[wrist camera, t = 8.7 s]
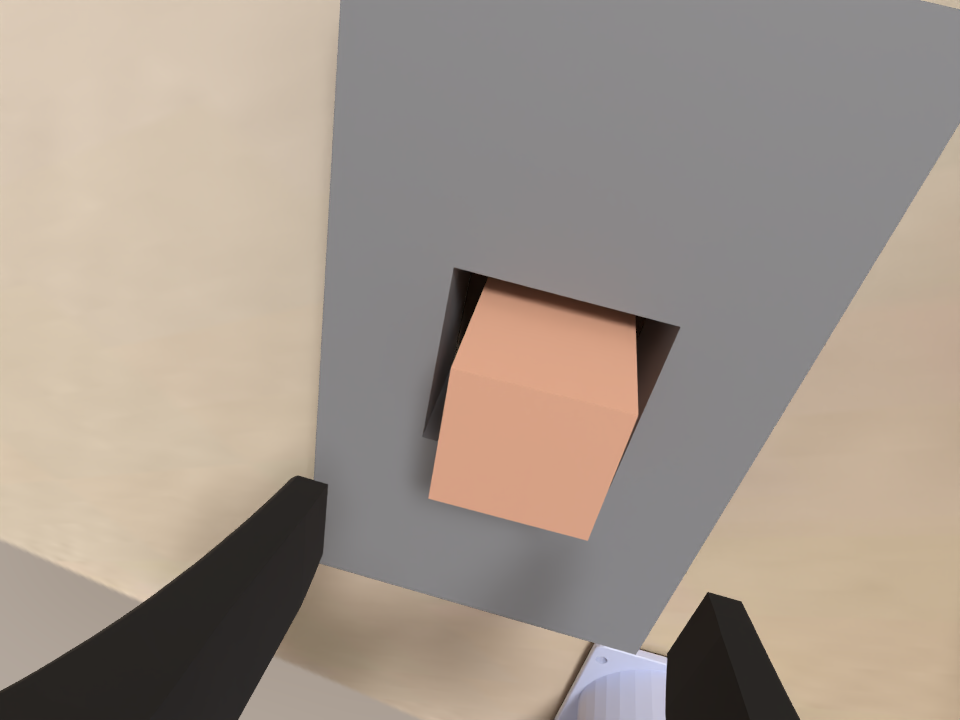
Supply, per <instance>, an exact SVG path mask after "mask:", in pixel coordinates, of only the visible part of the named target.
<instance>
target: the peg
mask: <svg viewBox="0 0 960 720" xmlns="http://www.w3.org/2000/svg"><path fill="white" fill-rule="evenodd" d="M637 417H638V385H637V353H636V322H635V315H634V314H630V313H626V312H622V311H618V310H615V309H611V308H607V307H603V306H599V305H596V304H592V303H588V302H584V301H580V300H576V299H573V298H569V297H565V296H561V295H557V294H554V293H550V292H546V291H542V290H538V289H535V288H531V287H527V286H523V285H519V284H516V283H512V282H508V281H504V280H500V279H497V278H493V277H488V279H487V281H486V284H485V286H484V289H483V291H482V294H481V296H480V298H479V301H478V303H477V306H476V308H475V311H474V313H473V315H472V318H471V320H470V323H469V325H468V328H467V330H466V333H465V335H464V337H463V340H462V342H461V345H460V347H459V350H458V352H457V354H456V357H455V359H454V362H453V364H452V367H451V370H450V376H449V382H448V388H447V393H446V399H445V405H444V411H443V417H442V422H441V428H440V434H439V440H438V445H437V451H436V457H435V463H434V469H433V474H432V480H431V486H430V492H429V497H428V499H432V500H435V501H439V502H443V503H447V504H451V505H454V506H458V507H462V508H466V509H469V510H473V511H477V512H481V513H485V514H488V515H492V516H496V517H500V518H504V519H507V520H511V521H515V522H519V523H522V524H526V525H530V526H534V527H538V528H541V529H545V530H549V531H553V532H556V533H560V534H564V535H568V536H572V537H575V538H579V539H583V540H587V541H588V539H589V536H590V534H591V532H592V529H593V527H594V524H595V522H596V519H597V517H598V514H599V512H600V509H601V507H602V504H603V502H604V499H605V497H606V494H607V492H608V489H609V487H610V484H611V482H612V479H613V477H614V475H615V472H616V470H617V467H618V465H619V462H620V460H621V457H622V455H623V452H624V450H625V447H626V445H627V442H628V440H629V437H630V435H631V432H632V430H633V427H634V425H635V422H636V420H637Z"/></svg>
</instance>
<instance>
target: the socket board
mask: <svg viewBox="0 0 960 720" xmlns="http://www.w3.org/2000/svg"><path fill="white" fill-rule="evenodd" d="M959 123H960V9H955V8H951V7H947V6H943V5H938V4H934V3H930V2H925V1H921V0H341V1H340V19H339V37H338V55H337V73H336V91H335V109H334V127H333V145H332V163H331V181H330V199H329V217H328V235H327V253H326V271H325V289H324V307H323V325H322V343H321V361H320V378H319V396H318V414H317V432H316V450H315V468H314V480H315V481H318V482H322V483H326V484H328V495H327V508H326V521H325V535H324V548H323V555H322V558H321V560H320V562H319V563H320V564H323V565H327V566H330V567H334V568H337V569H341V570H344V571H348V572H351V573H354V574H358V575H361V576H365V577H368V578H372V579H375V580H379V581H382V582H386V583H389V584H392V585H396V586H399V587H403V588H406V589H410V590H413V591H417V592H420V593H424V594H427V595H430V596H434V597H437V598H441V599H444V600H448V601H451V602H455V603H458V604H462V605H465V606H468V607H472V608H475V609H479V610H482V611H486V612H489V613H493V614H496V615H500V616H503V617H506V618H510V619H513V620H517V621H520V622H524V623H527V624H531V625H534V626H538V627H541V628H544V629H548V630H551V631H555V632H558V633H562V634H565V635H569V636H572V637H576V638H579V639H582V640H586V641H589V642H593V643H596V644H600V645H603V646H607V647H610V648H614V649H617V650H620V651H624V652H627V653H631V654H634V655H636V654H637V652H638V650H639V649H640V647H641V646H642V644H643V642H644V641H645V639H646V637H647V636H648V634H649V632H650V631H651V629H652V628H653V626H654V624H655V623H656V621H657V619H658V618H659V616H660V614H661V613H662V611H663V609H664V608H665V606H666V605H667V603H668V601H669V600H670V598H671V596H672V595H673V593H674V591H675V590H676V588H677V586H678V585H679V583H680V582H681V580H682V578H683V577H684V575H685V573H686V572H687V570H688V568H689V567H690V565H691V563H692V562H693V560H694V559H695V557H696V555H697V554H698V552H699V550H700V549H701V547H702V545H703V544H704V542H705V540H706V539H707V537H708V536H709V534H710V532H711V531H712V529H713V527H714V526H715V524H716V522H717V521H718V519H719V517H720V516H721V514H722V513H723V511H724V509H725V508H726V506H727V504H728V503H729V501H730V499H731V498H732V496H733V495H734V493H735V491H736V490H737V488H738V486H739V485H740V483H741V481H742V480H743V478H744V476H745V475H746V473H747V472H748V470H749V468H750V467H751V465H752V463H753V462H754V460H755V458H756V457H757V455H758V453H759V452H760V450H761V449H762V447H763V445H764V444H765V442H766V440H767V439H768V437H769V435H770V434H771V432H772V430H773V429H774V427H775V426H776V424H777V422H778V421H779V419H780V417H781V416H782V414H783V412H784V411H785V409H786V407H787V406H788V404H789V403H790V401H791V399H792V398H793V396H794V394H795V393H796V391H797V389H798V388H799V386H800V384H801V383H802V381H803V380H804V378H805V376H806V375H807V373H808V371H809V370H810V368H811V366H812V365H813V363H814V362H815V360H816V358H817V357H818V355H819V353H820V352H821V350H822V348H823V347H824V345H825V343H826V342H827V340H828V339H829V337H830V335H831V334H832V332H833V330H834V329H835V327H836V325H837V324H838V322H839V320H840V319H841V317H842V316H843V314H844V312H845V311H846V309H847V307H848V306H849V304H850V302H851V301H852V299H853V297H854V296H855V294H856V293H857V291H858V289H859V288H860V286H861V284H862V283H863V281H864V279H865V278H866V276H867V274H868V273H869V271H870V270H871V268H872V266H873V265H874V263H875V261H876V260H877V258H878V256H879V255H880V253H881V251H882V250H883V248H884V247H885V245H886V243H887V242H888V240H889V238H890V237H891V235H892V233H893V232H894V230H895V229H896V227H897V225H898V224H899V222H900V220H901V219H902V217H903V215H904V214H905V212H906V210H907V209H908V207H909V206H910V204H911V202H912V201H913V199H914V197H915V196H916V194H917V192H918V191H919V189H920V187H921V186H922V184H923V183H924V181H925V179H926V178H927V176H928V174H929V173H930V171H931V169H932V168H933V166H934V164H935V163H936V161H937V160H938V158H939V156H940V155H941V153H942V151H943V150H944V148H945V146H946V145H947V143H948V141H949V140H950V138H951V137H952V135H953V133H954V132H955V130H956V128H957V127H958V125H959ZM471 272H474V273H478V274H481V275H485V276H489V277H493V278H497V279H500V280H504V281H508V282H512V283H516V284H519V285H523V286H527V287H531V288H535V289H538V290H542V291H546V292H550V293H554V294H557V295H561V296H565V297H569V298H573V299H576V300H580V301H584V302H588V303H592V304H596V305H599V306H603V307H607V308H611V309H615V310H618V311H622V312H626V313H630V314H634V315H637V316H641V317H645V318H646V321H645V323H644V326H643V328H642V331H641V333H640V336H639V338H638V340H637V343H636V353H637V385H638V417H637V420H636V422H635V425H634V427H633V430H632V432H631V435H630V437H629V440H628V442H627V445H626V447H625V450H624V452H623V455H622V457H621V460H620V462H619V465H618V467H617V470H616V472H615V475H614V477H613V479H612V482H611V484H610V487H609V489H608V492H607V494H606V497H605V499H604V502H603V504H602V507H601V509H600V512H599V514H598V517H597V519H596V522H595V524H594V527H593V529H592V532H591V534H590V536H589V539H588V541H587V540H583V539H579V538H575V537H572V536H568V535H564V534H560V533H556V532H553V531H549V530H545V529H541V528H538V527H534V526H530V525H526V524H522V523H519V522H515V521H511V520H507V519H504V518H500V517H496V516H492V515H488V514H485V513H481V512H477V511H473V510H469V509H466V508H462V507H458V506H454V505H451V504H447V503H443V502H439V501H435V500H432V499H428V497H429V492H430V486H431V480H432V474H433V469H434V463H435V457H436V451H437V445H438V440H439V434H440V428H441V422H442V417H443V411H444V405H445V399H446V393H447V388H448V382H449V376H450V370H451V367H452V364H453V359H454V354H455V349H456V344H457V339H458V334H459V329H460V324H461V319H462V314H463V310H464V305H465V300H466V295H467V290H468V285H469V280H470V275H471Z"/></svg>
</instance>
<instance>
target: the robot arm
mask: <svg viewBox="0 0 960 720" xmlns="http://www.w3.org/2000/svg"><path fill="white" fill-rule="evenodd" d="M327 495H328V484H326V483H322V482H318V481H315V480H311V479H308V478H304V477H301V476H295V477H293V478H291V479H290V480H289V481H288V482H287V483H286V484H285V485H284V486H283V487H282V488H281V489H280V490H279V491H278V492H277V493H276V494H275V495H274V496H273V497H272V498H271V499H269V500H268V501H267V502H266V503H265V504H264V505H263V506H262V507H261V508H260V509H259V510H258V511H256V512H255V513H254V514H253V515H252V516H251V517H250V518H249V519H247V520H246V521H245V522H244V523H243V524H242V525H241V526H240V527H238V528H237V529H236V530H235V531H234V532H232V533H231V534H230V535H229V536H228V537H226V538H225V539H224V540H223V541H222V542H221V543H219V544H218V545H217V546H216V547H215V548H213V549H212V550H211V551H210V552H209V553H207V554H206V555H205V556H204V557H202V558H201V559H200V560H199V561H197V562H196V563H195V564H194V565H192V566H191V567H190V568H188V569H187V570H186V571H184V572H183V573H182V574H181V575H179V576H178V577H177V578H175V579H174V580H173V581H171V582H170V583H169V584H167V585H166V586H165V587H163V588H162V589H161V590H159V591H158V592H157V593H156V594H154V595H153V596H151V597H150V598H149V599H147V600H146V601H144V602H143V603H142V604H140V605H139V606H137V607H136V608H135V609H133V610H132V611H130V612H129V613H127V614H126V615H124V616H123V617H121V618H120V619H118V620H117V621H115V622H114V623H112V624H111V625H109V626H108V627H106V628H105V629H103V630H102V631H100V632H99V633H97V634H96V635H94V636H93V637H91V638H90V639H88V640H86V641H85V642H83V643H81V644H80V645H78V646H76V647H75V648H73V649H72V650H70V651H68V652H67V653H65V654H63V655H62V656H60V657H59V658H57V659H55V660H54V661H52V662H51V663H49V664H47V665H45V666H44V667H42V668H40V669H39V670H37V671H35V672H34V673H32V674H30V675H28V676H27V677H25V678H23V679H22V680H20V681H18V682H16V683H14V684H12V685H11V686H9V687H7V688H5V689H3V690H1V691H0V720H238V719H239V717H240V715H241V713H242V712H243V710H244V708H245V706H246V704H247V703H248V701H249V699H250V697H251V695H252V694H253V692H254V690H255V688H256V686H257V685H258V683H259V681H260V679H261V677H262V675H263V674H264V672H265V670H266V668H267V667H268V665H269V663H270V661H271V659H272V658H273V656H274V654H275V652H276V650H277V649H278V647H279V645H280V643H281V641H282V640H283V638H284V636H285V634H286V632H287V631H288V629H289V627H290V625H291V623H292V621H293V620H294V618H295V616H296V614H297V612H298V610H299V609H300V607H301V605H302V603H303V600H304V598H305V596H306V593H307V591H308V589H309V586H310V584H311V582H312V579H313V577H314V574H315V572H316V570H317V567H318V565H319V562H320V560H321V558H322V555H323V548H324V535H325V521H326V508H327ZM554 720H800V718H799V716H798V714H797V713H796V711H795V709H794V707H793V705H792V703H791V701H790V699H789V697H788V695H787V693H786V691H785V689H784V687H783V685H782V683H781V681H780V679H779V677H778V675H777V673H776V671H775V669H774V667H773V665H772V663H771V661H770V659H769V657H768V655H767V653H766V651H765V649H764V647H763V645H762V643H761V641H760V639H759V636H758V634H757V632H756V630H755V628H754V626H753V624H752V622H751V620H750V618H749V616H748V614H747V612H746V610H745V608H744V606H743V604H742V602H741V601H738V600H734V599H731V598H727V597H723V596H720V595H716V594H713V593H709V592H708V593H707V594H706V596H705V597H704V599H703V600H702V602H701V603H700V605H699V606H698V608H697V609H696V611H695V612H694V614H693V615H692V617H691V618H690V620H689V621H688V623H687V625H686V626H685V628H684V629H683V631H682V632H681V634H680V635H679V637H678V638H677V640H676V641H675V643H674V644H673V646H672V647H671V649H670V650H669V652H668V653H667V657H664V656H660V655H657V654H653V653H650V652H646V651H643V650H640V649H639V650H638V652H637V654H636V655H634V654H631V653H627V652H624V651H620V650H617V649H614V648H610V647H607V646H603V645H600V644H596V643H595V644H594V645H593V647H592V649H591V651H590V653H589V655H588V656H587V658H586V660H585V662H584V664H583V666H582V668H581V670H580V672H579V673H578V675H577V677H576V679H575V681H574V683H573V685H572V687H571V689H570V690H569V692H568V694H567V696H566V698H565V700H564V702H563V704H562V706H561V707H560V709H559V711H558V713H557V715H556V717H555V719H554Z"/></svg>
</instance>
